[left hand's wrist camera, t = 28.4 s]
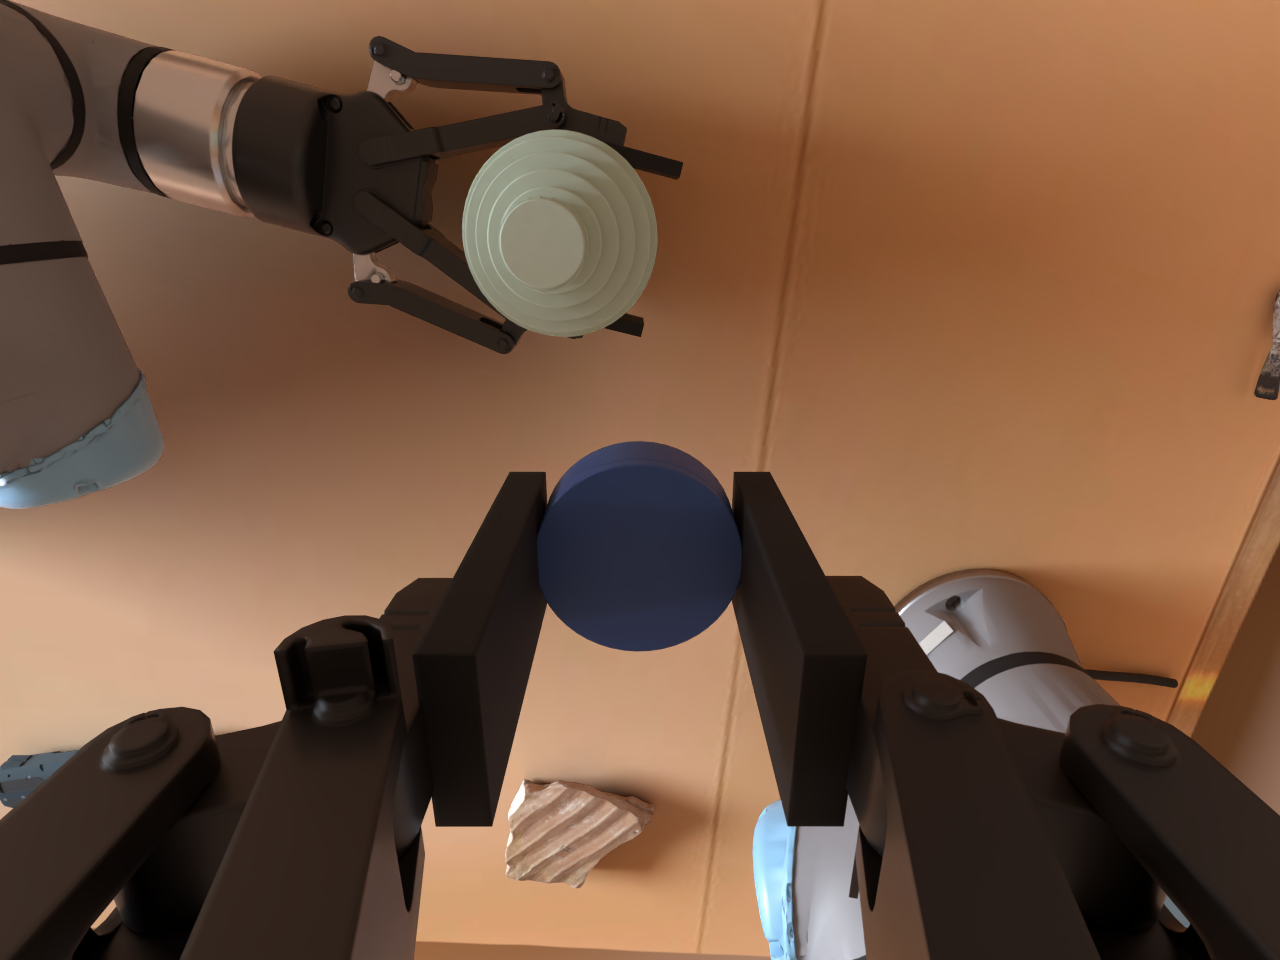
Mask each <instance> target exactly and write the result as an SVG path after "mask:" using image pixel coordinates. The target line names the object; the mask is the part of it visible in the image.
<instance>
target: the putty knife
mask: <svg viewBox="0 0 1280 960" xmlns="http://www.w3.org/2000/svg"><path fill="white" fill-rule="evenodd" d="M1272 339H1273V340H1272V343H1273V345H1272V348H1271V350H1270V352H1269V354H1268V356H1267V358H1266V361H1265V363H1264V366H1263V368H1262V371H1261V374H1260V376H1259V379H1258V382H1257V386H1256V389H1255V392H1254V394H1255V396H1256V397H1259V398H1264V399H1269V400H1276V399H1277V397H1278V391H1279V385H1280V290H1279V291H1278V294H1277V296H1276V300H1275V305H1274V313H1273V327H1272Z"/></svg>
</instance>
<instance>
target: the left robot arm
mask: <svg viewBox="0 0 1280 960" xmlns="http://www.w3.org/2000/svg"><path fill="white" fill-rule="evenodd" d="M546 507H547V490H546V472H510V473H509V474H508V476H507V478H506V480H505V482H504V484H503V486H502V487H501V489H500V491H499V493H498V495H497V497H496V499H495V501H494V502H493V504H492V506H491V508H490V510H489V512H488V514H487V516H486V517H485V519H484V521H483V523H482V525H481V527H480V529H479V531H478V532H477V534H476V536H475V538H474V540H473V542H472V544H471V546H470V547H469V549H468V551H467V553H466V555H465V557H464V559H463V561H462V562H461V564H460V566H459V568H458V570H457V572H456V574H455V576H454V577H453V578H418V579H417V580H415V581H414V582H412V583H411V584H409V585H408V586H406V587H405V588H403V589H402V590H400V591H399V592H398V593H396V595H395V596H394V598H393V599H392V601H391V602H390V604H389V605H388V607H387V608H386V610H385V613H384V615H382V616H381V617H380V619H377V618H373V617H370V616H341V617H336V618H330V619H325V620H322V621H319V622H316V623H314V624H311V625H308V626H306V627H303V628H301V629H300V630H298V631H296V632H295V633H293V634H292V635H290V636H288V637H287V638H285V639H284V640H283V641H282V642H281V644H280V645H279V646H278V647H277V648H276V649H275V651H274V655H275V660H276V664H277V669H278V673H279V678H280V682H281V687H282V691H283V696H284V700H285V705H286V709H287V710H286V712H285V715H284V717H283V719H282V721H279V722H276V723H272V724H268V725H265V726H261V727H256V728H251V729H247V730H242V731H237V732H232V733H228V734H223V735H218V736H214V732H213V728H212V725H211V721H210V718H209V717H207V716H206V715H205V714H204V713H203V712H202V711H200V710H196V709H191V708H186V707H176V708H166V709H158V710H154V711H149V712H147V713H142V714H139V715H136V716H133V717H131V718H129V719H127V720H125V721H123V722H121V723H119V724H117V725H115V726H112V727H110V728H108V729H107V730H105V731H104V732H102V733H101V734H100V735H98V736H97V737H95V738H94V739H93V740H91V741H90V742H88V743H87V744H86V745H84V746H83V747H82V748H81V749H80V750H79V751H78V752H77V753H75V754H74V755H73V756H72V757H71V758H70V759H69V760H67V761H66V762H65V763H64V764H63V765H62V766H61V767H60V768H58V769H57V770H56V771H55V772H54V773H53V774H52V775H51V776H49V777H48V778H47V779H46V780H45V781H44V782H43V783H42V784H40V785H39V786H38V787H37V788H36V789H35V790H34V791H33V792H31V793H30V794H29V795H28V796H27V797H26V798H25V799H23V800H22V801H21V802H20V803H19V804H18V805H17V806H16V807H14V808H13V809H12V810H11V811H10V812H9V813H8V814H7V815H5V816H4V817H3V818H2V819H1V820H0V960H414V952H415V943H416V933H417V924H418V915H419V906H420V896H421V887H422V878H423V868H424V859H425V851H424V844H423V837H422V830H421V824H422V821H423V819H424V816H425V813H426V810H427V808H428V805H429V802H430V799H431V797H432V803H433V810H434V817H435V824H436V826H492V825H493V821H494V817H495V812H496V808H497V804H498V800H499V796H500V792H501V788H502V784H503V780H504V776H505V772H506V768H507V764H508V760H509V756H510V752H511V748H512V744H513V740H514V735H515V731H516V727H517V723H518V719H519V715H520V711H521V707H522V703H523V699H524V695H525V691H526V687H527V683H528V679H529V675H530V671H531V667H532V663H533V658H534V654H535V650H536V646H537V642H538V638H539V634H540V630H541V626H542V622H543V618H544V614H545V610H546V606H547V601H546V599H545V598H544V596H543V594H542V591H541V589H540V586H539V570H538V553H537V534H538V531H539V528H540V525H541V522H542V519H543V516H544V513H545V510H546ZM732 512H733V515H734V518H735V521H736V524H737V527H738V530H739V534H740V537H741V541H742V562H741V577H740V581H739V585H738V588H737V590H736V592H735V594H734V596H733V599H732V603H733V607H734V612H735V616H736V620H737V624H738V628H739V632H740V636H741V640H742V644H743V648H744V652H745V656H746V660H747V664H748V668H749V672H750V676H751V680H752V685H753V689H754V693H755V697H756V701H757V705H758V709H759V713H760V717H761V721H762V725H763V729H764V733H765V737H766V741H767V745H768V749H769V753H770V758H771V762H772V766H773V770H774V774H775V778H776V782H777V786H778V790H779V794H780V798H781V800H778V801H776V802H773V803H771V804H770V805H769V806H767V807H766V808H765V809H764V810H763V812H762V813H761V815H760V817H759V819H758V822H757V824H756V827H755V831H754V838H753V869H754V879H755V887H756V894H757V901H758V907H759V913H760V918H761V922H762V927H763V931H764V935H765V937H766V939H768V941H769V943H770V945H769V947H770V953H771V960H1280V816H1279V815H1278V814H1277V813H1276V812H1275V811H1274V810H1273V809H1271V808H1270V807H1269V806H1268V805H1267V804H1266V803H1265V802H1263V801H1262V800H1261V799H1260V798H1259V797H1258V796H1257V795H1255V794H1254V793H1253V792H1252V791H1251V790H1250V789H1249V788H1247V787H1246V786H1245V785H1244V784H1243V783H1242V782H1241V781H1240V780H1238V779H1237V778H1236V777H1235V776H1234V775H1233V774H1232V773H1230V772H1229V771H1228V770H1227V769H1226V768H1225V767H1224V766H1223V765H1221V764H1220V763H1219V762H1218V761H1217V760H1216V759H1215V758H1213V757H1212V756H1211V755H1210V754H1209V753H1208V752H1207V751H1205V750H1204V749H1203V748H1202V747H1201V746H1200V745H1199V744H1197V743H1196V742H1195V741H1194V740H1193V739H1191V738H1190V737H1188V736H1187V735H1185V734H1184V733H1183V732H1181V731H1180V730H1178V729H1177V728H1175V727H1174V726H1173V725H1170V724H1168V723H1166V722H1164V721H1162V720H1160V719H1158V718H1155V717H1153V716H1152V715H1150V714H1148V713H1145V712H1142V711H1139V710H1133V709H1132V708H1127V707H1123V706H1120V705H1119V704H1118V703H1117V702H1116V701H1115V700H1114V699H1113V698H1112V697H1111V696H1110V695H1109V694H1108V693H1107V692H1106V691H1105V690H1104V689H1103V688H1102V687H1101V686H1100V685H1099V684H1098V683H1097V682H1096V681H1095V680H1094V679H1098V680H1111V681H1125V682H1137V683H1146V684H1154V685H1160V686H1166V687H1172V688H1176V687H1177V686H1178V682H1177V681H1176V680H1175V679H1170V678H1164V677H1158V676H1152V675H1144V674H1135V673H1123V672H1109V671H1097V670H1087V669H1083V668H1082V666H1081V663H1080V661H1079V658H1078V656H1077V654H1076V651H1075V649H1074V647H1073V644H1072V642H1071V640H1070V638H1069V636H1068V633H1067V630H1066V626H1065V624H1064V621H1063V620H1062V618H1061V616H1060V615H1059V613H1058V612H1057V610H1056V609H1055V608H1054V606H1053V605H1052V603H1051V602H1050V601H1049V600H1048V599H1047V598H1046V597H1045V596H1044V595H1043V594H1042V593H1041V592H1040V591H1039V590H1037V589H1036V588H1035V587H1034V586H1033V585H1032V584H1030V583H1029V582H1027V581H1026V580H1024V579H1022V578H1020V577H1018V576H1015V575H1013V574H1010V573H1006V572H1003V571H997V570H989V569H971V570H963V571H958V572H953V573H949V574H946V575H943V576H940V577H937V578H935V579H933V580H931V581H928V582H927V583H925V584H923V585H921V586H919V587H918V588H916V589H915V590H913V591H912V592H911V593H909V594H908V595H907V596H905V597H904V598H903V599H902V600H901V601H900V602H899V603H898V604H897V605H896V606H895V607H894V606H893V604H892V603H891V602H890V600H889V599H888V597H887V596H886V594H885V593H884V591H883V590H881V589H880V588H878V587H877V586H875V585H874V584H872V583H871V582H869V581H868V580H866V579H865V578H863V577H862V576H825V575H824V573H823V571H822V569H821V567H820V565H819V563H818V561H817V560H816V558H815V556H814V554H813V552H812V550H811V548H810V546H809V545H808V543H807V541H806V539H805V537H804V535H803V533H802V531H801V530H800V528H799V526H798V524H797V522H796V520H795V518H794V516H793V515H792V513H791V511H790V509H789V507H788V505H787V503H786V501H785V500H784V498H783V496H782V494H781V492H780V490H779V488H778V486H777V485H776V483H775V481H774V479H773V477H772V475H771V473H770V472H734V481H733V500H732ZM113 899H114V901H115V903H116V906H117V907H116V908H115V909H114V910H113V911H112V913H111V914H110V915H109V916H108V918H107V919H106V920H105V921H104V922H103V923H102V924H101V925H99V926H98V927H97V928H96V929H95V930H94V931H93V930H92V929H91V926H92V924H93V923H94V922H95V921H96V920H97V918H98V917H99V916H100V915H101V913H102V912H103V911H104V910H105V909H106V907H107V906H108V905H109V904H110V903H111V901H112V900H113Z"/></svg>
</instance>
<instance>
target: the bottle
mask: <svg viewBox="0 0 1280 960" xmlns="http://www.w3.org/2000/svg"><path fill="white" fill-rule="evenodd" d="M462 236H463V246H464V251H465V256H466V259H467V263H468V266H469V269H470V271H471V273H472V275H473V278H474V280H475V282H476V283H477V285H478V287H479V288H480V290H481V292H482V293H483V294H484V296H485V297H486V298H487V299H488V301H489V302H490V303H491V304H492V305H493V306H494V307H495V308H496V309H497V310H498V311H499V312H500V313H501V314H503V315H504V316H505V317H506V318H508V319H509V320H511V321H512V322H514V323H516V324H517V325H519V326H521V327H523V328H525V329H528V330H530V331H533V332H536V333H539V334H543V335H548V336H554V337H572V336H580V335H585V334H589V333H592V332H595V331H597V330H600V329H602V328H604V327H606V326H608V325H610V324H612V323H613V322H615V321H616V320H617V319H619V318H620V317H622V316H623V315H624V314H625V313H626V312H627V311H628V310H629V309H630V308H631V307H632V306H633V305H634V303H635V302H636V301H637V300H638V298H639V297H640V295H641V294H642V292H643V291H644V289H645V287H646V285H647V283H648V281H649V279H650V276H651V274H652V270H653V267H654V264H655V259H656V253H657V241H658V233H657V221H656V217H655V212H654V208H653V205H652V202H651V199H650V196H649V194H648V192H647V189H646V187H645V185H644V183H643V182H642V180H641V179H640V177H639V175H638V174H637V172H636V171H635V170H634V169H633V167H632V166H631V165H630V164H629V163H628V161H627V160H626V159H624V158H623V157H622V156H621V155H620V154H619V153H618V152H617V151H615V150H614V149H613V148H611V147H610V146H608V145H607V144H605V143H603V142H601V141H599V140H597V139H596V138H594V137H591V136H588V135H585V134H582V133H579V132H574V131H568V130H544V131H537V132H533V133H530V134H526V135H524V136H521V137H519V138H517V139H514V140H513V141H511V142H509V143H508V144H506V145H504V146H503V147H502V148H500V149H499V150H498V151H497V152H496V153H494V154H493V155H492V156H491V157H490V158H489V159H488V161H487V162H486V163H485V164H484V165H483V166H482V168H481V169H480V171H479V172H478V174H477V175H476V177H475V179H474V181H473V183H472V185H471V187H470V190H469V193H468V196H467V199H466V202H465V207H464V212H463V222H462Z"/></svg>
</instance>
